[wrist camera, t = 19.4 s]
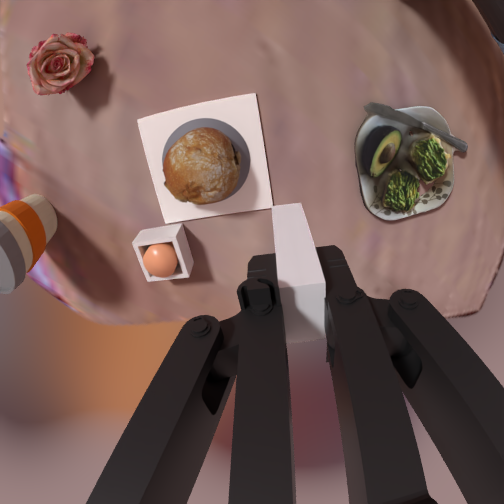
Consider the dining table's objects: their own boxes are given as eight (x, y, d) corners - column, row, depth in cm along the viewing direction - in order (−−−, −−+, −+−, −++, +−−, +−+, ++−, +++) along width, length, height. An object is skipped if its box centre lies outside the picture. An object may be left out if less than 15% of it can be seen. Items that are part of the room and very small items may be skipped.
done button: (144, 240, 42) (138, 250, 39) (174, 235, 41) (169, 246, 39) (155, 267, 44) (149, 279, 42) (184, 264, 44) (179, 275, 41)
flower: (38, 101, 30) (31, 107, 25) (29, 48, 23) (21, 45, 18) (94, 79, 33) (99, 82, 29) (88, 27, 27) (92, 20, 22)
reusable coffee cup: (42, 255, 46) (0, 303, 34) (9, 204, 40) (-40, 244, 28) (76, 230, 43) (28, 282, 30) (40, 171, 37) (-20, 209, 25)
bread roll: (243, 176, 42) (265, 181, 35) (184, 216, 40) (194, 229, 33) (209, 119, 37) (225, 110, 30) (146, 158, 36) (147, 158, 29)
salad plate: (455, 93, 30) (473, 97, 26) (462, 199, 39) (477, 211, 35) (341, 105, 33) (352, 108, 29) (362, 223, 42) (372, 238, 38)
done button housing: (141, 230, 43) (132, 242, 40) (182, 223, 42) (175, 236, 39) (154, 267, 47) (147, 281, 43) (194, 262, 46) (189, 277, 42)
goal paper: (137, 119, 34) (136, 119, 34) (255, 93, 32) (255, 93, 32) (166, 222, 42) (165, 223, 42) (273, 206, 41) (273, 208, 40)
